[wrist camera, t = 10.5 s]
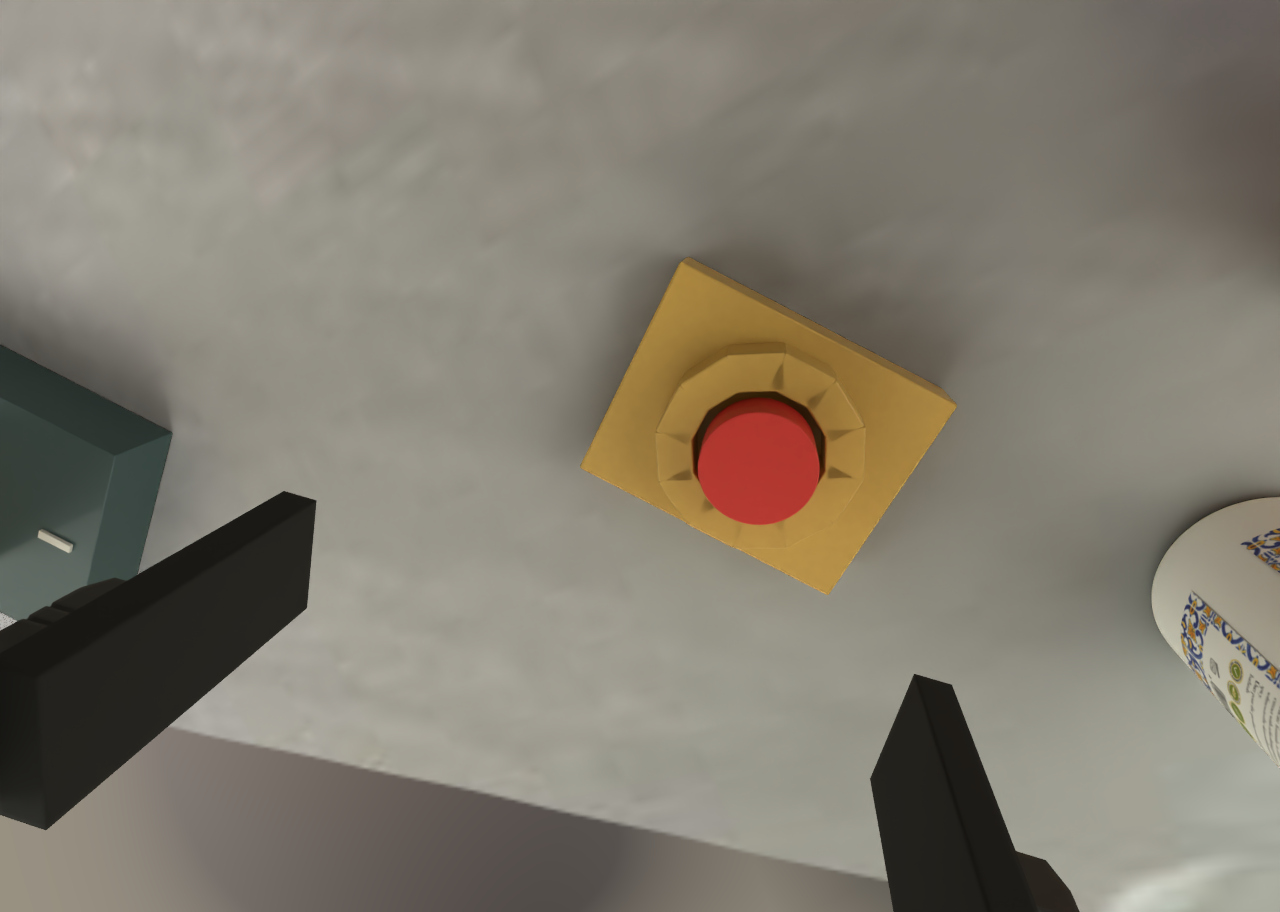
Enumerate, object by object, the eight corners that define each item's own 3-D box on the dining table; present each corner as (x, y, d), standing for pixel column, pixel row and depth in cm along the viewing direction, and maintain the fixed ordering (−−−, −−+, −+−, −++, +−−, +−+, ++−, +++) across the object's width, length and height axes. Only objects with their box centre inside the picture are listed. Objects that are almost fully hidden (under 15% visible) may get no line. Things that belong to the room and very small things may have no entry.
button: (682, 472, 25) (677, 491, 23) (735, 377, 23) (733, 390, 22) (780, 522, 25) (781, 545, 23) (837, 430, 23) (843, 447, 22)
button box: (592, 448, 29) (566, 486, 25) (686, 255, 26) (673, 265, 22) (823, 567, 29) (832, 623, 25) (943, 389, 26) (973, 421, 22)
